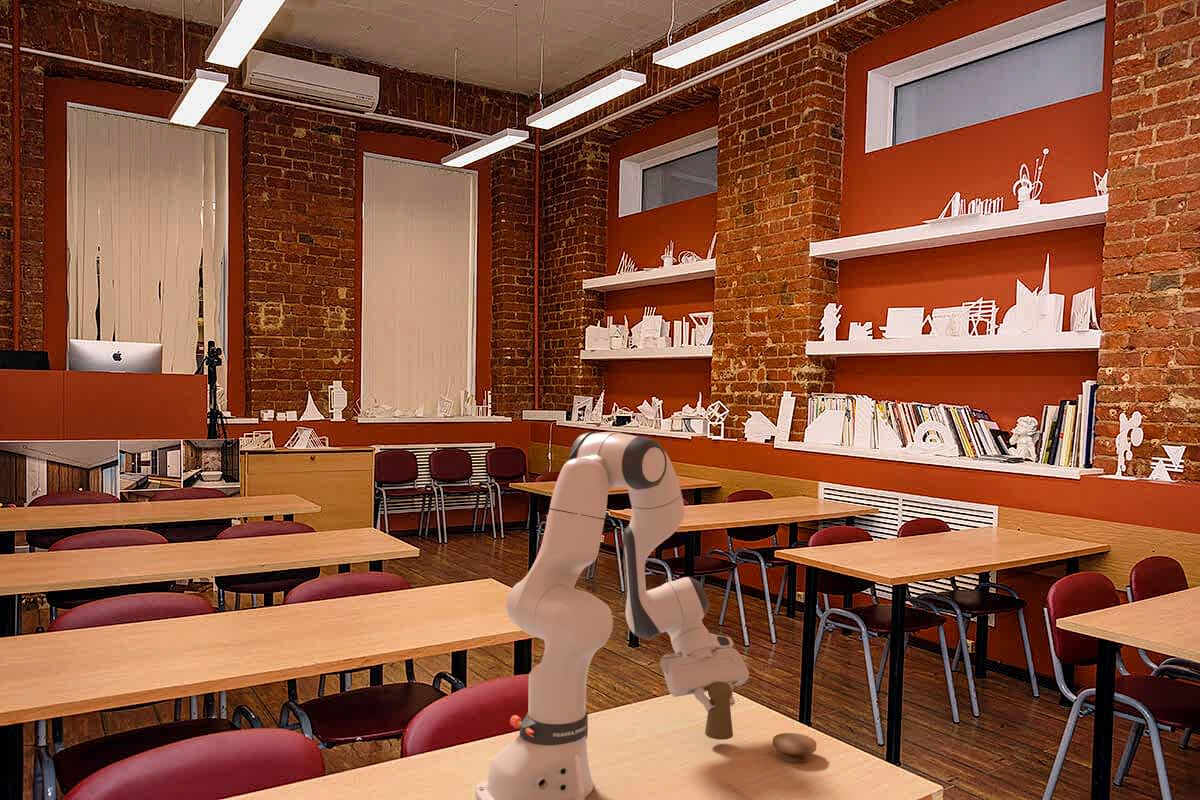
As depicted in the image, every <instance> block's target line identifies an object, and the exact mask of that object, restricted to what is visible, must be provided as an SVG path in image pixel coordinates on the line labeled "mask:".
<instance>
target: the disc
mask: <svg viewBox="0 0 1200 800" xmlns="http://www.w3.org/2000/svg"><path fill="white" fill-rule="evenodd" d="M772 747H773V748H775V749H776V750H777V751H776V754H777V755H776V756H777V758H779V760H781V761H783V762H786V763H789V764H806V763H808V762H810V761H812V753H815V751H816V750H817V742H816V740H815V739H814V738H812V737H810V736H807V735H806V734H801V733H797V732H796V733H795V732H784V733H779V734H775V736H773V737H772Z"/></svg>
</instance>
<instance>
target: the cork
mask: <svg viewBox="0 0 1200 800" xmlns="http://www.w3.org/2000/svg"><path fill="white" fill-rule="evenodd" d="M707 694H708V697H709V700H711V699H712V700H713V702H714V704H715V708H714V709H713V710H710V711H707V715H706V716H707V717H706V724H705V729H704V735H705V736H706V737H708V738H709V739H713V740H722V741H723V740H728V739H729V740H731V738H733V736H734V733H733V723H732V713H731V706H730V701H729V699H730V698H731V696H733V695H732V688H731V686H730V685H729V684H728V683H725V682H713V683H711V684H710V685H709V687H708V691H707Z"/></svg>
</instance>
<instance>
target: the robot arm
mask: <svg viewBox="0 0 1200 800" xmlns="http://www.w3.org/2000/svg"><path fill="white" fill-rule="evenodd" d="M612 488H619V489H627V491H628V496H629V501H630V505H631V516H630V522H629V524H628V526H627V527H626V528H625V529H624V531H623V535H622V559H623V560H622V561H623V574H624V585H625V587H624V588H625V619H626V622H627V623H626V624H627V625H628V628H629V630H630V631H631V633H632V634H633V635H634V636H636V637H638V638H642V639H644V640H648V641H649V640H651V639H654V638H655V637H657V636H659V635H661V634H663V633H665V632H666V633H667V634H668V635H669V638H670V643H671V646H672V649H673V651H674V652H673V653H666V654H664V655H662V657H660V660H659V665H660V668H661V670H662V671H663V676H664V680H665V683H666V686H667V689H668V692H669V694H670V695H671V696H673V697H674V698H678V697H683V696H688V695H689V696H690V695H694V697H695V699H696V700H698V702H700V704H702V705H703V707H704V708H705V711H706V712H708V711H710V710H713V709H714V708H715V704H714V702H713V700H712V699H711V700H710V698H708V696H707V695H706V694H705V692H708V687H709V685H710V684H711V683H713V682H725V683H728V684H729V685H730V686H731V688H732V696H731V698H730V699H729V701H730V707H733V706H734V705H735V704H736V701H735V698H734V696H733V693H734V687H735V686H736V687H737V686H741V685H743V684H744V683H746V681H747V680H749V677H750V672H749V669H748V667H747V665H746V663H745V661H744V659H743V657H742V655H741V654H740V652H739V651H738V650H737V649H736V648H733V646H734V641H733V639H732V638H731V637H730V636H723V635H720V634H715V633H712V632H709V630H708V629H707V627H706V625H704V623H703V621H702V620H703V619H704V618H705V616H707V613H708V610H709V608H710V605H711V603H710V600H709V598H708V596H707V594H706V592H705V589H704V587H703V585H702V583H701V581H699V580H697V579H695V578H694V577H691V576H684V577H681V578H678V579H674V580H671V581H667V582H665V583H663V584H661V585H660V586H657V587H655V588H654V587H653V588H650V589H648V590H647V587H646V585H647V584H646V571H645V570H646V568H645V565H646V561H647V559H648V557H649V556H650V555H651V553H652V552H653V551H655V549H657V547H658V546H659V545H661V544H662V543H663V542H664V541H665V540H667V539H669V538H670V537H672V535H673V534H674V533H675V532H676V531H677V530H678V528H679V527H680V526H681V524H682V522H683V519H684V517H685V504H684V500H683V499H684V498H683V493H682V490H681V486H680V483H679V480H678V476H677V474H676V471H675V468H674V466H673V463H672V461H671V459H670V457H669V455H668V454H667V453H666V451H665V450H664V448H663V447H662V445H661V444H660V443H659V442H658V441H656V440H654V439H652V438H649V437H647V436H645V435H641V436H636V435H633V434H629V433H628V434H627V433H623V432H619V431H618V432H617V431H604V432H601V431H597V430H596V431H595V430H594V431H589V432H586V433H582V434H580V435H579V436H578V437H576V439H575V440H574V442H573V444H572V446H571V448H570V450H569V455H568V460H567V461H566V462H565V463H564V465H563V466H562V467H561V470H560V472H559V474H558V477H557V479H556V482H555V486H554V489H553V492H552V495H551V499H550V504H549V509H548V514H547V519H546V523H545V529H544V531H543V532H544V533H543V537H542V540H541V545H540V548H539V551H538V554H537V556H536V558H535V560H534V563H532V566H531V568H530V569H529V571H528V572H527V573H526V575H525V576H524V577H523V578H522V579H521V580H520V581H519V582H517V583H516V584H514V586H513V587H512V588H511V589H510V591H509V593H508V595H507V598H506V606H505V607H506V614H507V616H508V618H509V620H510V621H511V622H512V623H513V624H514V625H515V626H516V627H517V628H519V629H520V630H521V631H523V632H524V633H525V634H527V635H530V636H533V637H536V638H537V639H541V640H543V642H544V652H543V656H542V659H541V662H539V663H537V664H536V665H535V666H534V667H532V669H531V671H530V672H529V675H528V702H527V703H528V706H527V707H528V711H527V713H526V714H525V717H524V718H523V719H522V718H521V717H520V716H518V715H517V714H515V715H512V716H510V717H511V718H510V719H509V724H510V725H511V726H512V727H514V729H516V730H517V729H519V734H518V735H517V736H516V737H515V738H514V739H512V741H510V742H509V743H508V744H507V745H506V746H505V747H504V748H503V749H501V750H500V752H498V753H497V754H496V755H495V756H494V757H493V758H492V760H491V761H490V764H489V768H488V776H487V779H485V780H482V781H480V782H477V785H476V788H475V796H476V799H477V800H586V797H588V795H590V794H591V793H592V791H593V790H594V781H593V778H592V774H591V771H590V765H589V758H588V749H587V739H588V734H589V733H588V732H589V727H588V726H589V719H588V717H589V716H588V715H589V714H588V712H587V711H586V709H587V708H586V703H587V702H586V700H587V677H588V672H589V668H590V664H591V662H592V660H593V657H594V655H595V653H596V652H597V651H598V650H600V649H601V648H602V647H604V646H605V644H606V643H607V641H608V640H609V638H610V636H611V633H612V631H613V627H614V626H613V625H614V618H613V613H612V609H611V608H610V606H609V605H608V604H607V603H605V602H604V601H603V600H601V599H600V598H598V596H596V595H594V594H593V593H590V592H588V591H584V590H581V589H578V588H575V586H576V584H577V580H578V579H579V577H580V575H581V574H582V572H583V571H584V569H586V568H587V567H589V566H590V565H592V564H593V563H594V562H595V561H596V559H597V558H598V556H599V552H600V547H601V540H602V535H603V531H604V530H603V529H604V525H605V519H606V513H607V506H608V494H609V493H610V491H611V490H612Z"/></svg>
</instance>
